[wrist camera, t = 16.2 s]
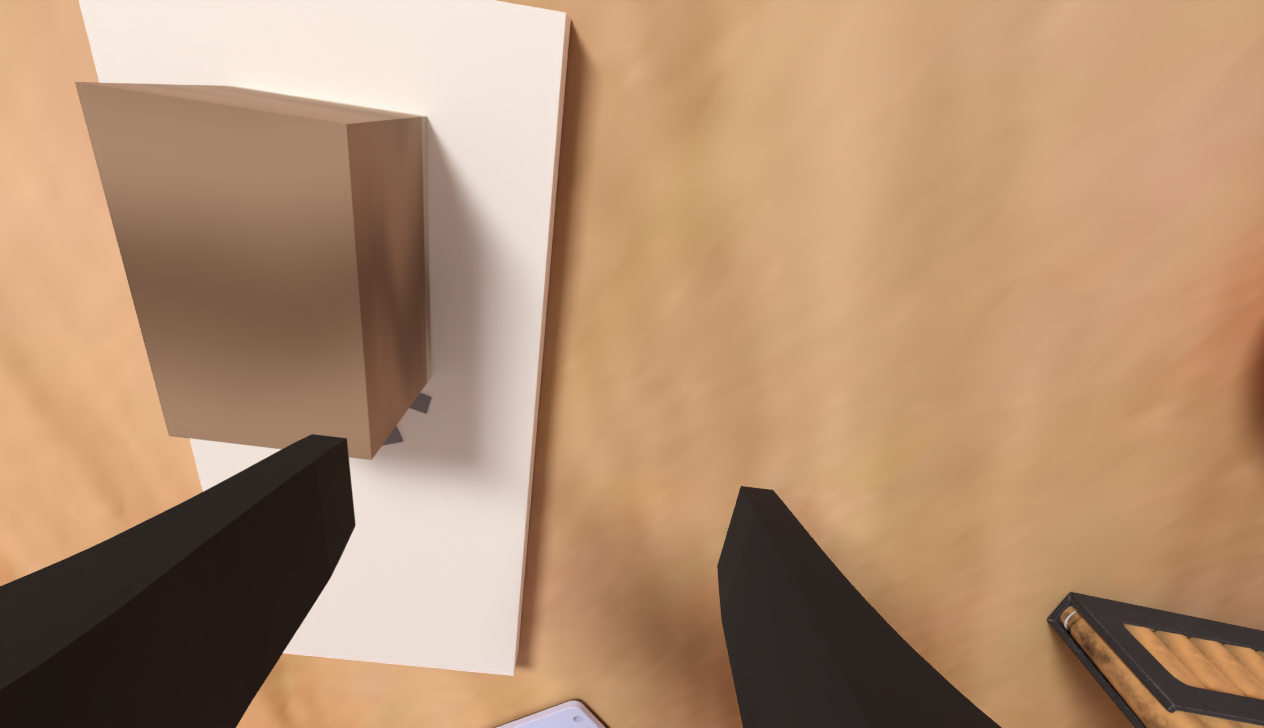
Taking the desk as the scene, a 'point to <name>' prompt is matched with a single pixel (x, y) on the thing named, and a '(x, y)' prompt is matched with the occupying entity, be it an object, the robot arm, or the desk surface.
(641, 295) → the desk surface
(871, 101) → the desk surface
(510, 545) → the plank
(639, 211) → the desk surface
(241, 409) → the block
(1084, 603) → the ammunition clip
